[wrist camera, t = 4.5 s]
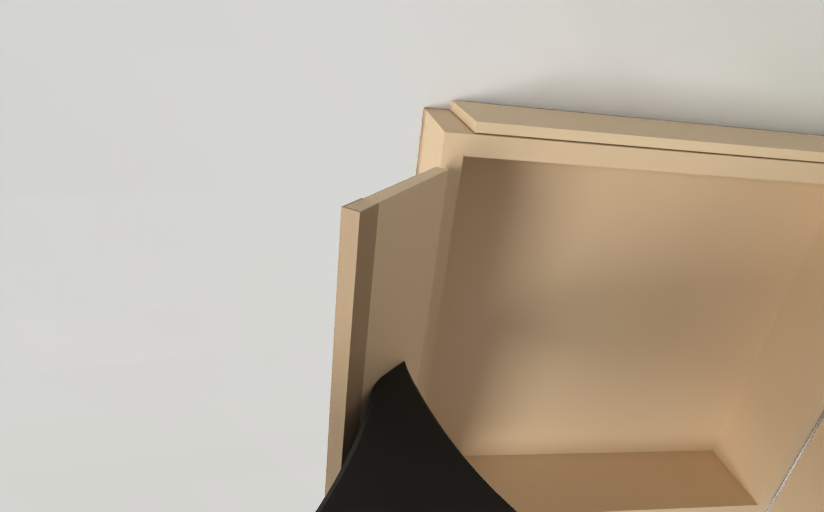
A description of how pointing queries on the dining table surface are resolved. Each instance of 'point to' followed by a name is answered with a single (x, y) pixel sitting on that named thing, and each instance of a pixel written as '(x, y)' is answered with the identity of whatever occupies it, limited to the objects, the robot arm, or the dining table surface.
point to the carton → (624, 307)
